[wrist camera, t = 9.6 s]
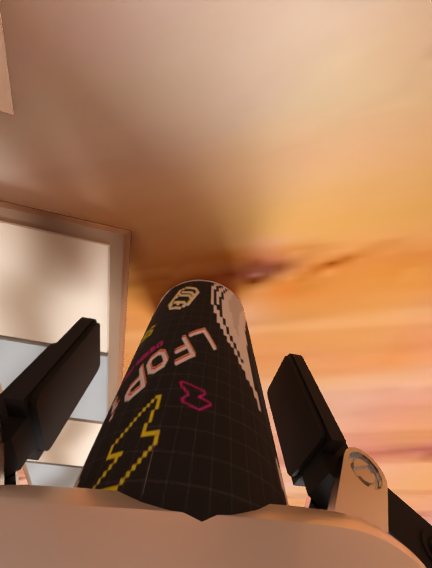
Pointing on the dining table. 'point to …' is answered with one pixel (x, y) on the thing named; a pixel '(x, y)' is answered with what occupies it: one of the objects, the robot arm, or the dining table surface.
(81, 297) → the board
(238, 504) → the beverage can
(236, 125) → the dining table surface
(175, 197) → the dining table surface
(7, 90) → the die
